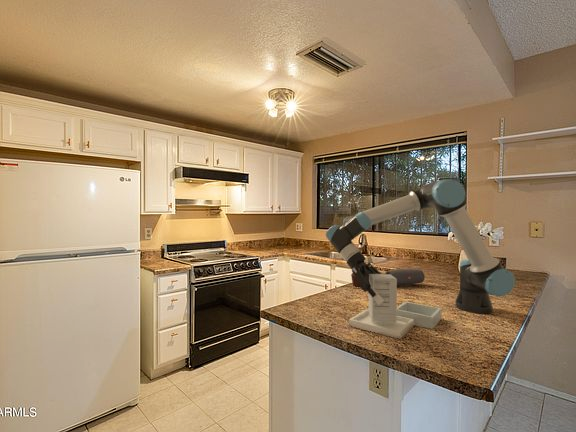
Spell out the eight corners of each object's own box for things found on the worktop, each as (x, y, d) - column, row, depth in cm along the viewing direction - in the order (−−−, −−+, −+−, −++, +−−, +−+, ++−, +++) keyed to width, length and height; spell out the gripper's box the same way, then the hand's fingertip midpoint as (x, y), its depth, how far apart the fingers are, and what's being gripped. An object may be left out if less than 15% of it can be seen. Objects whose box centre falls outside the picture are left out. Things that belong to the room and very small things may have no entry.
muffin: (370, 289, 179) (370, 272, 179) (351, 288, 181) (351, 271, 181) (369, 284, 191) (369, 268, 190) (351, 283, 193) (351, 267, 193)
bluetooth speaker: (392, 288, 182) (393, 271, 181) (384, 284, 191) (384, 268, 190) (425, 286, 188) (425, 270, 188) (415, 282, 197) (415, 267, 196)
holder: (441, 318, 130) (441, 308, 130) (432, 329, 118) (432, 317, 118) (405, 311, 139) (405, 301, 139) (393, 320, 128) (394, 309, 128)
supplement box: (396, 323, 116) (397, 279, 115) (371, 322, 117) (372, 278, 116) (390, 314, 125) (391, 273, 125) (367, 313, 126) (368, 273, 126)
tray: (414, 325, 122) (414, 319, 122) (399, 339, 108) (400, 332, 108) (366, 314, 134) (366, 309, 134) (348, 325, 121) (348, 319, 121)
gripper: (359, 258, 140) (392, 298, 131) (332, 266, 121) (368, 312, 112) (370, 248, 137) (405, 287, 127) (344, 253, 117) (382, 300, 108)
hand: (387, 299), depth 119 cm, fingers closed on supplement box, 12 cm apart
